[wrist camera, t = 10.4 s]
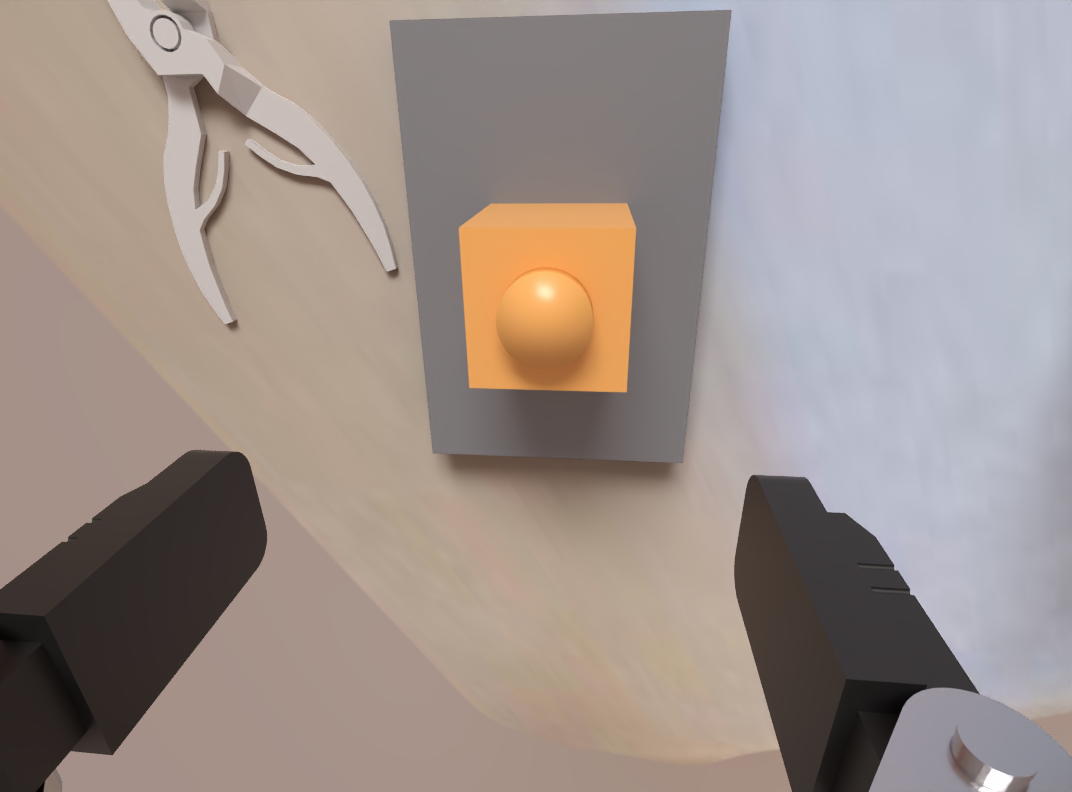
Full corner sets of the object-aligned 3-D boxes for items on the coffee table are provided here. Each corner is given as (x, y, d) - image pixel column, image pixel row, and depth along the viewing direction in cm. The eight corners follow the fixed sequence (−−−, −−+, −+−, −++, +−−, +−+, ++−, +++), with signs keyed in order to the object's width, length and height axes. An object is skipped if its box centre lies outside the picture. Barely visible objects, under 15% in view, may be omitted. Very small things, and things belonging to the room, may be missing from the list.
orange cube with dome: (627, 203, 23) (638, 233, 17) (620, 334, 25) (628, 405, 19) (491, 203, 23) (451, 233, 17) (496, 332, 26) (463, 400, 19)
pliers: (209, 331, 28) (5, -29, 22) (228, 321, 29) (41, -20, 24) (394, 271, 26) (221, -144, 20) (405, 263, 27) (246, -125, 22)
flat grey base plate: (720, 19, 22) (768, -22, 16) (677, 442, 29) (698, 526, 23) (405, 28, 23) (335, -6, 17) (442, 433, 30) (403, 511, 24)
